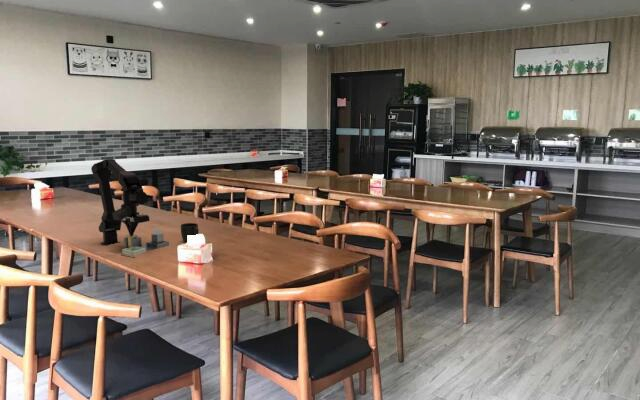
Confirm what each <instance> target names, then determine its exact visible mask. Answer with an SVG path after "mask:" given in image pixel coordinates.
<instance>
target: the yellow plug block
mask: <svg viewBox="0 0 640 400" xmlns="http://www.w3.org/2000/svg"><path fill="white" fill-rule="evenodd" d="M125 237H127V240H128V247H131V239H132V238H136V237H138V234H135V233H134V234H133V235H132V236H131V235H130V234H128V235H125Z"/></svg>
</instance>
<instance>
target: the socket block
mask: <svg viewBox="0 0 640 400" xmlns="http://www.w3.org/2000/svg"><path fill="white" fill-rule="evenodd" d="M136 246H137V247H142V248H145V249H146V252H150V251H155V250H156V249H160V248H165V247H169V246H170V241H169V240H164V242H162V243H158V244H156V243H152V240H151V241H150V240H149V241H146V242H145V243H142V237H140V236H137V237H136V238H132V239H131V247H136ZM126 248H130V247H128V240H127V237H126V236H125V237H123V249H126Z"/></svg>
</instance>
